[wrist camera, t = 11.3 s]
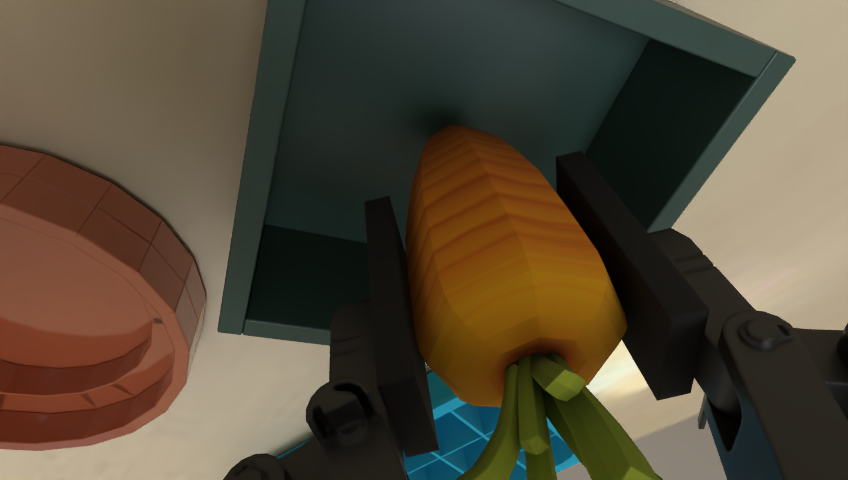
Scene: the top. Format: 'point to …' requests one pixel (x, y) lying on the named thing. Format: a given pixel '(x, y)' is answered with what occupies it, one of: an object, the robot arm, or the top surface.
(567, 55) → the bin
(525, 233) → the carrot
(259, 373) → the top surface
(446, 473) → the ice cube tray
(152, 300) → the bowl
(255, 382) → the top surface
